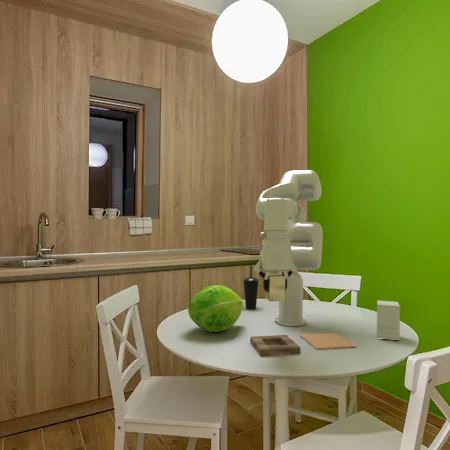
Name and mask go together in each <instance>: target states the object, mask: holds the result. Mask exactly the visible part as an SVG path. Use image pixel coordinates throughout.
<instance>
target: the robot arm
mask: <svg viewBox="0 0 450 450" xmlns="http://www.w3.org/2000/svg"><path fill="white" fill-rule="evenodd" d="M319 177H320V176H319V175H318V174H317V172H316V171H314V170H313V169H302V170H297V169H296V170H289V171H286V172H285V173H284V174H283V175H282V176H281V178H280V181H279V183H278V184H276V185H274V186H272V187H270V188H268V189H266V190H264V191H262V193H260V195H259V197H258V199H257V201H256V204H255V214H256V215H257V217H258V218H259V219H260V220H264V227H263V228H264V229H263V231H262V232H259V236H260V237H262V238H263V239H262V242H261V244H260V245H261V247H260V250H259V251H260V252H259V261H257V263H256V264H255V266H254V267H252V270H253V271H254V272H255V273H257V274H258V275H259V276H260V277H261V278H262V280H263V285H262V286H263V287H262V288H263V290H264V291H265V293H266V292H269V280H268V277H269V274H270V273H271V272H278V274H281V275H283V276H285V301H278V316H276V317H274V322H275V323H276V324H278V325H281V326H285V327H301V326H302V327H303V326H305V325H306V324H307V320H306V318H304V317H303V312H304V311H303V305H304V304H303V303H304V302H303V301H304V300H303V299H304V298H303V297H304V281H303V277H302V275H301V274H300V272H299V271H298V270H311V271H313V270H315V271H316V270H318V269H319V268H320V267H321V265H322V264H321V263H322V254H323V239H324V236H323V233H324V232H323V227H322V225H321V224H320V223H319V222H316V221H306V216H307V215H306V211H305V209H304V208H303V206H302V205H300V203H298V201H300V202H301V201H302V202H303V201H304V202H315V201H318V200H320V199H321V196H322V193H323V190H322V184H321V181H320V178H319ZM260 269H262V270H263V271H262V270H260Z"/></svg>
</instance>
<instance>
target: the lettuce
mask: <svg viewBox="0 0 450 450" xmlns="http://www.w3.org/2000/svg"><path fill="white" fill-rule="evenodd" d="M245 307H246V305H245V300H243V299H242V298H241V297H240V296H239V295H238V294H237V293H236V292H235V291H234V290H233V289H231V288H229V287H227V286H225V285H222V284H221V285H220V284H217V285H215V284H214V285H209V286H206V287H204V288H202V289H201V290H199V291H197V292H196V293H195V295H194V296H192V298H191V300H190V302H189V304H188V310H187V313H188V315H189V318H190V319H191V321H192V322H193V323H194V324H195V325H197V326H198V327H199V328H202V329H203V330H205V331H208V332H210V333H217V332H223V331H226V330H228V329H230V328H232V327H233V326H234V325H235V323H236V322H237V321H238V319H239V318H240V316H241V314H242V310H243V309H244V308H245Z"/></svg>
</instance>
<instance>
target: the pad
mask: <svg viewBox="0 0 450 450" xmlns="http://www.w3.org/2000/svg"><path fill="white" fill-rule="evenodd" d="M299 337H300V338H301V339H303V340H304V341H305V342H306V343H308V344H309V345H310V347H312V348H313V349H315V350H316V351H318V350H321V349H322V350H335V348H339V349H350V347H356V348H357V345H355V344H354V343H353V342H351V341H349V340H347V339H346V338H345V337H343V336H342V335H340V334H338V332H333V333H332V332H330V333H328V332H327V333H314V334H313V333H312V334H300V335H299Z"/></svg>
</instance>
